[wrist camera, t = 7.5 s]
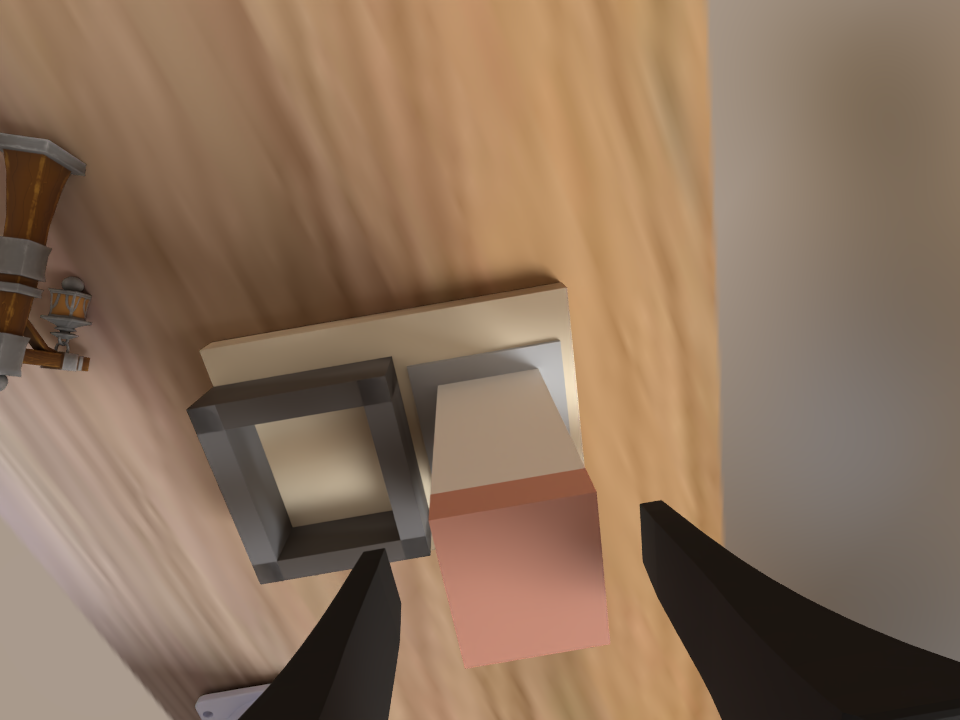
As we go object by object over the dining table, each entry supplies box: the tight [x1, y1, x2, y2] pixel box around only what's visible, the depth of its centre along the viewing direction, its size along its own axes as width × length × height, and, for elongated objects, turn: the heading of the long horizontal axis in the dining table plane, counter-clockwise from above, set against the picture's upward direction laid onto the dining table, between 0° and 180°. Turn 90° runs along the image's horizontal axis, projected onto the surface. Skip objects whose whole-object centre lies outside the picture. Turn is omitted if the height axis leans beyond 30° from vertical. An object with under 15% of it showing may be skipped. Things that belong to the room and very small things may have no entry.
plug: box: [429, 368, 610, 669], centre depth 16 cm, size 5×4×8 cm
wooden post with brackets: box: [0, 133, 92, 391], centre depth 16 cm, size 2×8×4 cm, turn 172°
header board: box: [187, 282, 584, 584], centre depth 19 cm, size 11×14×3 cm
